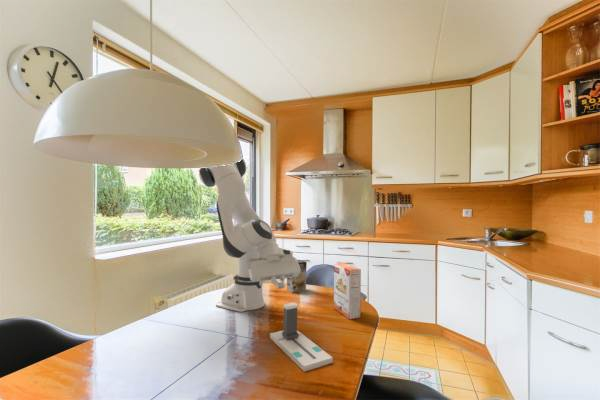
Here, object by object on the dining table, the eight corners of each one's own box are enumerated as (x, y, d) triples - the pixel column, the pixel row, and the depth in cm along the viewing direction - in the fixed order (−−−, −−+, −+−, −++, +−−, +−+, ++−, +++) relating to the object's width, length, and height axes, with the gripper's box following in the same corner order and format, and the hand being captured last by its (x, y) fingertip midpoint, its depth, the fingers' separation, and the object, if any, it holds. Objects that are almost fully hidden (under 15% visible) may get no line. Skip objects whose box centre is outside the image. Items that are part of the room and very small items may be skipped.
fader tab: (281, 335, 101) (282, 303, 101) (293, 332, 103) (293, 301, 104) (287, 340, 98) (287, 307, 98) (298, 337, 100) (298, 305, 100)
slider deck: (269, 337, 103) (269, 333, 103) (294, 331, 108) (294, 327, 108) (304, 371, 82) (304, 366, 82) (332, 362, 87) (332, 357, 87)
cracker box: (332, 308, 133) (333, 263, 134) (344, 307, 135) (344, 262, 136) (348, 320, 120) (349, 269, 120) (361, 318, 122) (361, 268, 123)
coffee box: (292, 293, 156) (292, 263, 156) (286, 290, 162) (286, 261, 162) (306, 290, 161) (306, 261, 161) (300, 287, 166) (300, 259, 167)
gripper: (247, 254, 109) (256, 287, 100) (295, 250, 119) (307, 280, 110) (243, 264, 113) (251, 296, 104) (290, 259, 122) (301, 288, 114)
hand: (280, 288), depth 107 cm, fingers closed
